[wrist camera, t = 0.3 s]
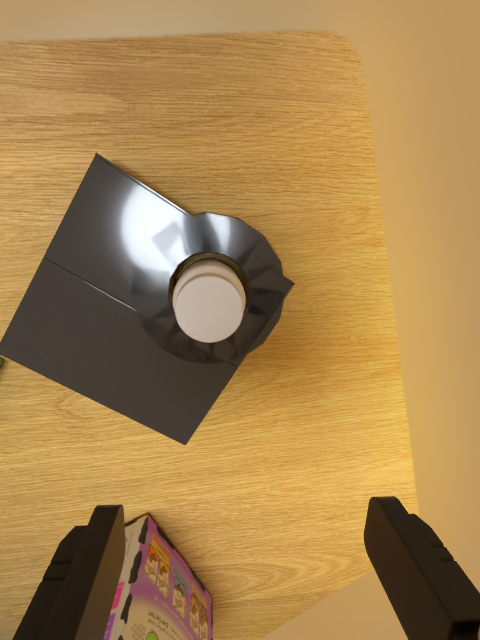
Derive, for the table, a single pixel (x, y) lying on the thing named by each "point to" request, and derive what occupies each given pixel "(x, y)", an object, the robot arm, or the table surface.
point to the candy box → (157, 591)
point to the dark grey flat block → (138, 303)
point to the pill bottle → (209, 300)
